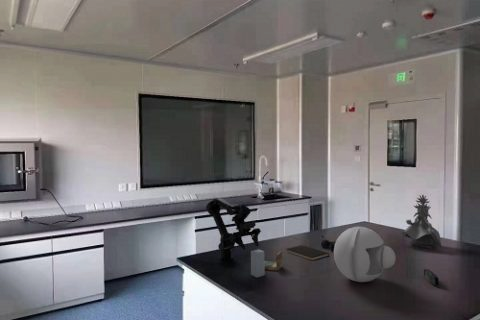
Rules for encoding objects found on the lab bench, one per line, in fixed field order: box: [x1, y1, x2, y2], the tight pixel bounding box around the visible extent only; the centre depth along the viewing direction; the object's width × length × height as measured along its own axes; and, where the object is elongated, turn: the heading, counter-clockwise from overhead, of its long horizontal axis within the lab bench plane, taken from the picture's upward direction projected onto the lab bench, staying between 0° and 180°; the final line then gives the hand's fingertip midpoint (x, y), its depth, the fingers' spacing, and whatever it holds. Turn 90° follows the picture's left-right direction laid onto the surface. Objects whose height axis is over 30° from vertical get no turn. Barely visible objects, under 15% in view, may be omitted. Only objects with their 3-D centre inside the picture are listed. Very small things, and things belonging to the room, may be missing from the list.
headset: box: [320, 235, 336, 252], centre depth 241 cm, size 13×9×19 cm
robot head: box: [333, 226, 397, 283], centre depth 183 cm, size 28×30×28 cm
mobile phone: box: [423, 268, 441, 289], centre depth 181 cm, size 5×3×15 cm
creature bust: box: [401, 194, 442, 249], centre depth 244 cm, size 24×23×35 cm
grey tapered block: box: [250, 249, 266, 278], centre depth 193 cm, size 5×6×13 cm
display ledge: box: [265, 250, 283, 272], centre depth 205 cm, size 12×8×9 cm, turn 69°
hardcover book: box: [285, 244, 330, 261], centre depth 231 cm, size 16×23×2 cm
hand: (251, 247), depth 200 cm, fingers open, 9 cm apart
